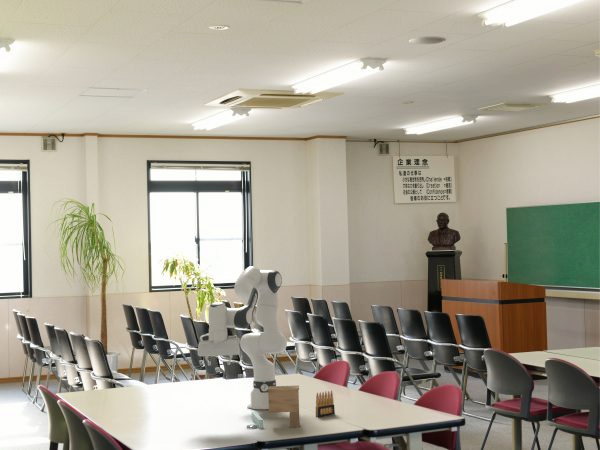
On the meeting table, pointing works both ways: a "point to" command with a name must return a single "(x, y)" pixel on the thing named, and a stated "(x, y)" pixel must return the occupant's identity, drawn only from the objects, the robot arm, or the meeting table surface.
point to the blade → (257, 419)
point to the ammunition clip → (324, 404)
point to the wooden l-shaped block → (285, 402)
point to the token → (252, 426)
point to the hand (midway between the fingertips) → (219, 364)
